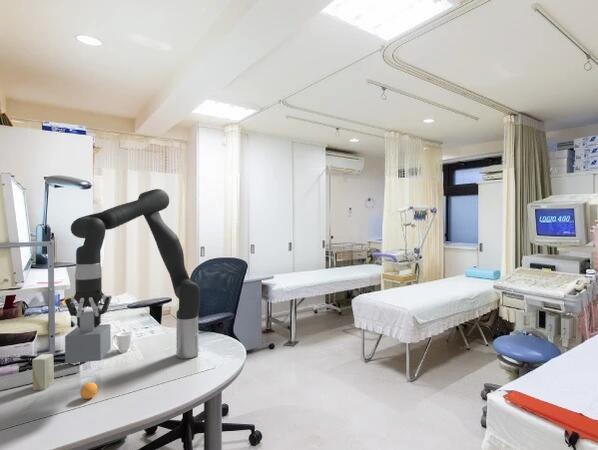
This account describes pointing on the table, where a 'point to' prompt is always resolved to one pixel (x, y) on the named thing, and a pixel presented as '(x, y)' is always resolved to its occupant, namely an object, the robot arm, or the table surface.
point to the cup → (123, 341)
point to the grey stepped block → (87, 340)
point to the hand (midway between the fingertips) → (89, 326)
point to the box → (43, 371)
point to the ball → (88, 390)
